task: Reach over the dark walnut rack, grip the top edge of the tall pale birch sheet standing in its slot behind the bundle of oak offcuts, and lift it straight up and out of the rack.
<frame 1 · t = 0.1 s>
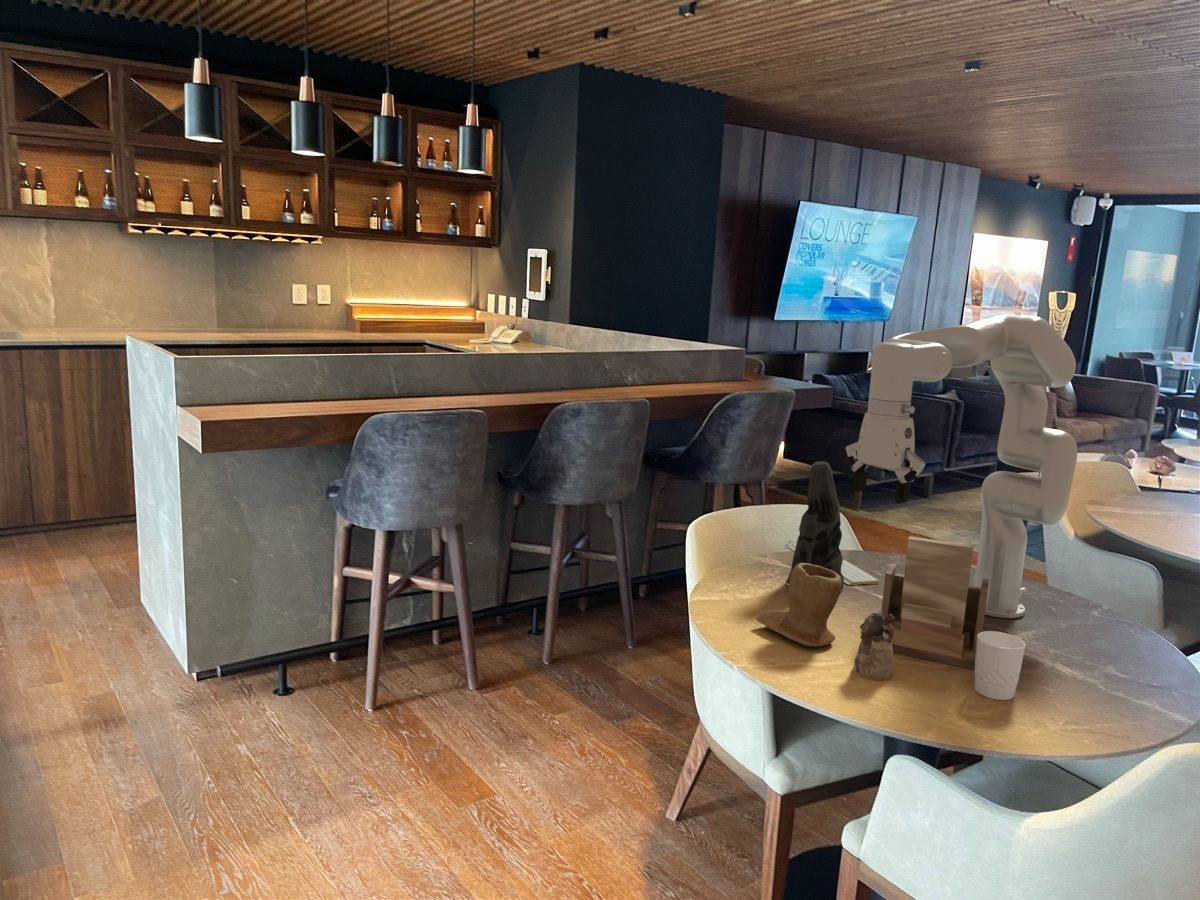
hand: (879, 496, 169), 31 cm above the table, tool pointing down, fingers open, 9 cm apart
dark tapered sculpture: (814, 585, 211), on the table
walnut rack: (928, 643, 178), on the table
clay boot figure: (800, 636, 180), on the table
offcut bundle: (926, 646, 173), point 1 cm above the table, touching walnut rack
figurine: (872, 673, 164), on the table
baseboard: (828, 567, 226), on the table
white cup: (993, 692, 158), on the table
birch sheet: (929, 636, 178), point 1 cm above the table, touching walnut rack
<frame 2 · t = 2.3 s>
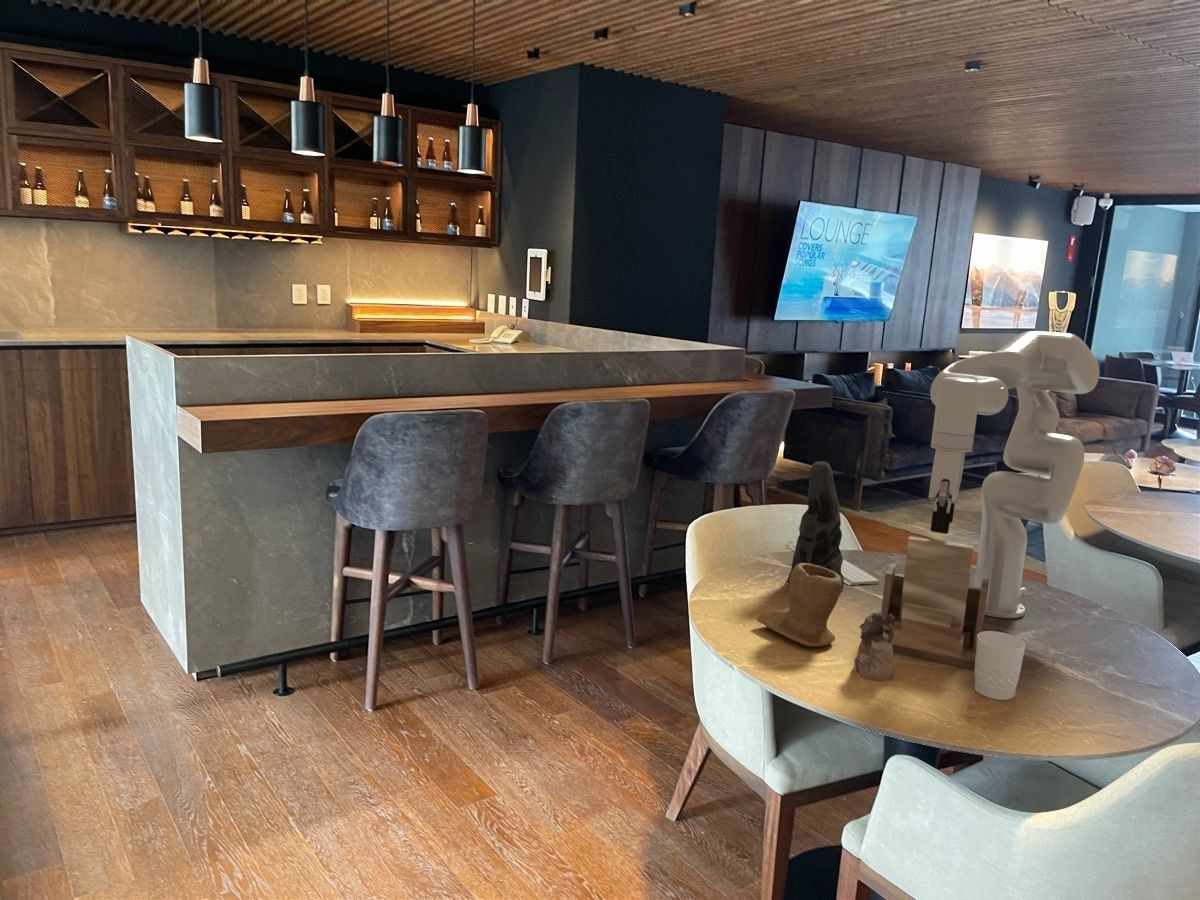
hand: (941, 526, 173), 25 cm above the table, tool pointing down, fingers open, 9 cm apart
nothing on the table moved.
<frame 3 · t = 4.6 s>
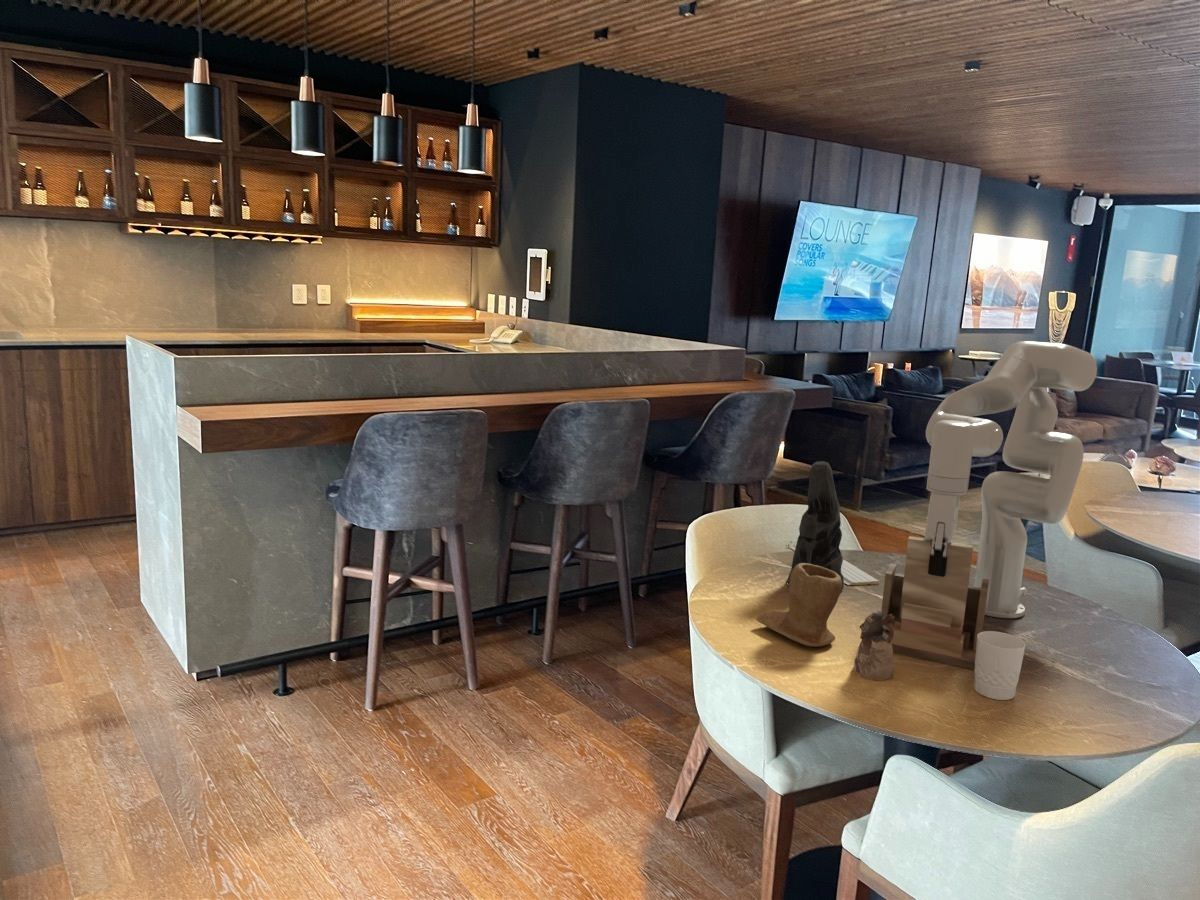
hand: (937, 572, 175), 15 cm above the table, tool pointing down, fingers closed on birch sheet, 2 cm apart
birch sheet: (929, 636, 178), point 2 cm above the table, touching gripper
everything else where it was.
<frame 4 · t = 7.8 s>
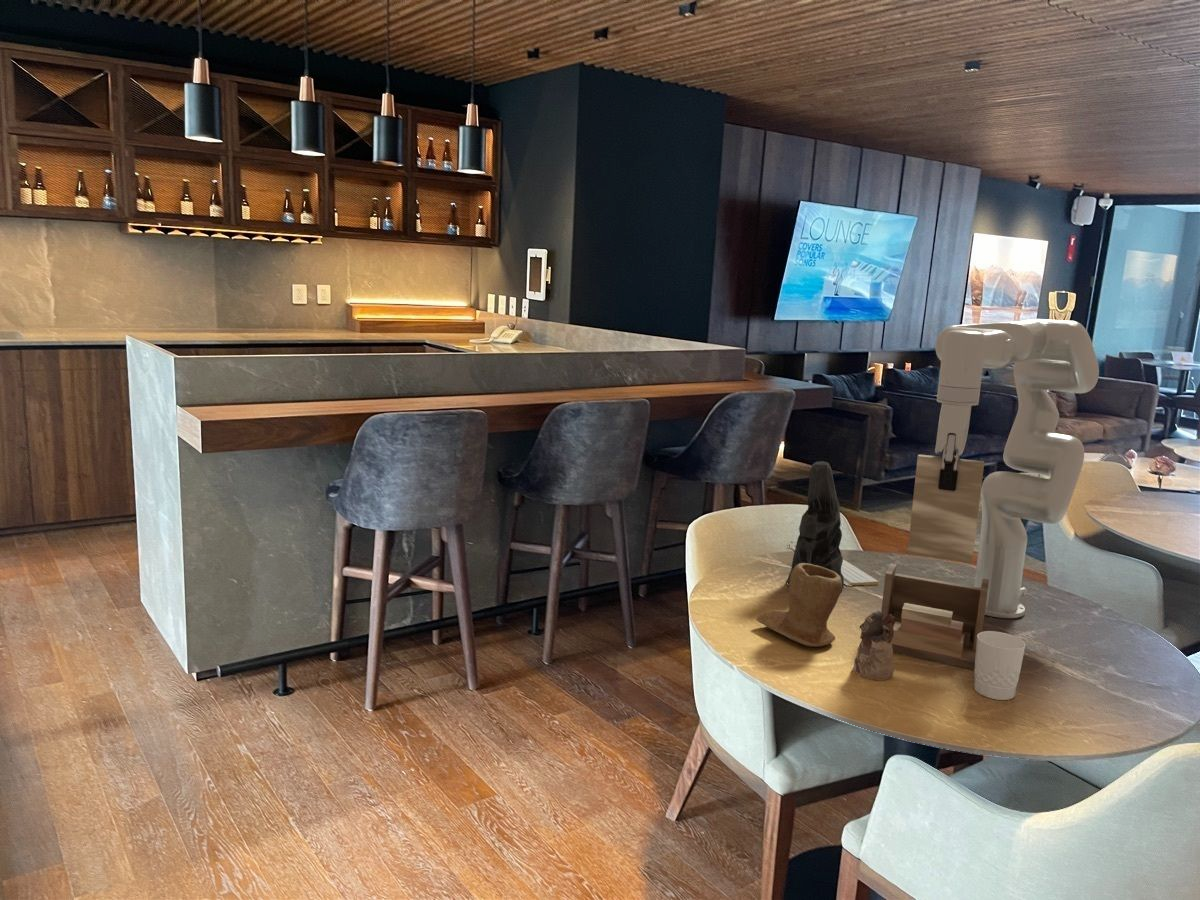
hand: (947, 487, 172), 33 cm above the table, tool pointing down, fingers closed on birch sheet
birch sheet: (939, 556, 175), point 18 cm above the table, touching gripper
everything else where it was.
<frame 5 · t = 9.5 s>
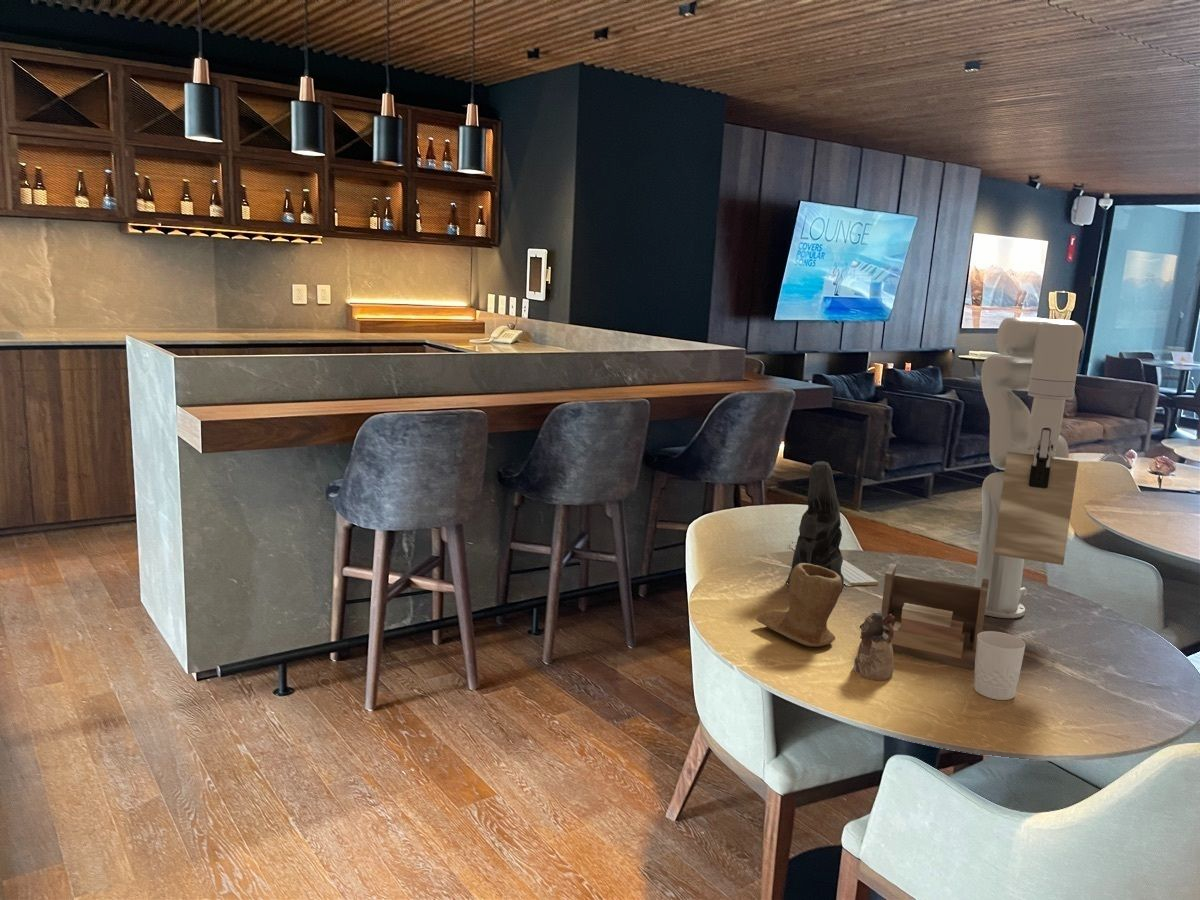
hand: (1037, 485, 166), 35 cm above the table, tool pointing down, fingers closed on birch sheet
birch sheet: (1028, 558, 169), point 21 cm above the table, touching gripper
everything else where it was.
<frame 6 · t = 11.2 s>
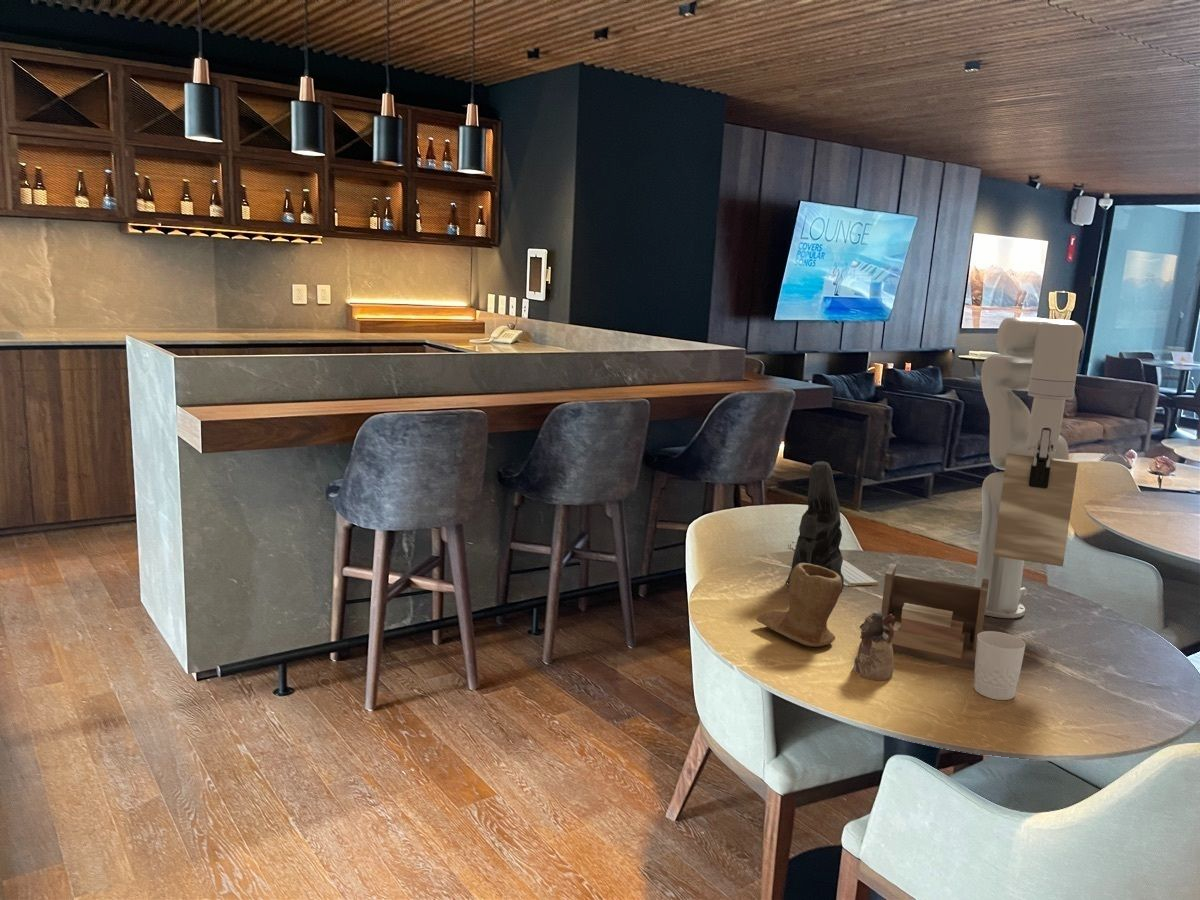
hand: (1037, 485, 166), 35 cm above the table, tool pointing down, fingers closed on birch sheet
birch sheet: (1027, 559, 169), point 20 cm above the table, touching gripper
everything else where it was.
at the end: birch sheet point 20.3 cm above the table; offcut bundle moved 0.0 cm from its start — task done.
